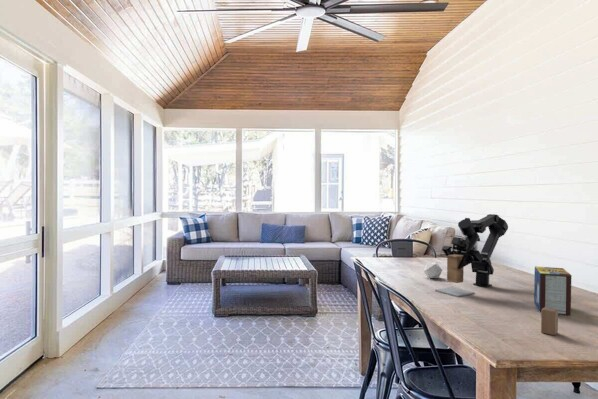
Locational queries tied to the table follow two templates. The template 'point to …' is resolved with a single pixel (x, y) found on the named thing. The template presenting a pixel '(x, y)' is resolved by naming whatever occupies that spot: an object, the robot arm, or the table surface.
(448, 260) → the walnut block
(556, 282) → the protein box
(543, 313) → the wooden block
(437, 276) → the die
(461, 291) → the coaster
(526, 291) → the table surface
